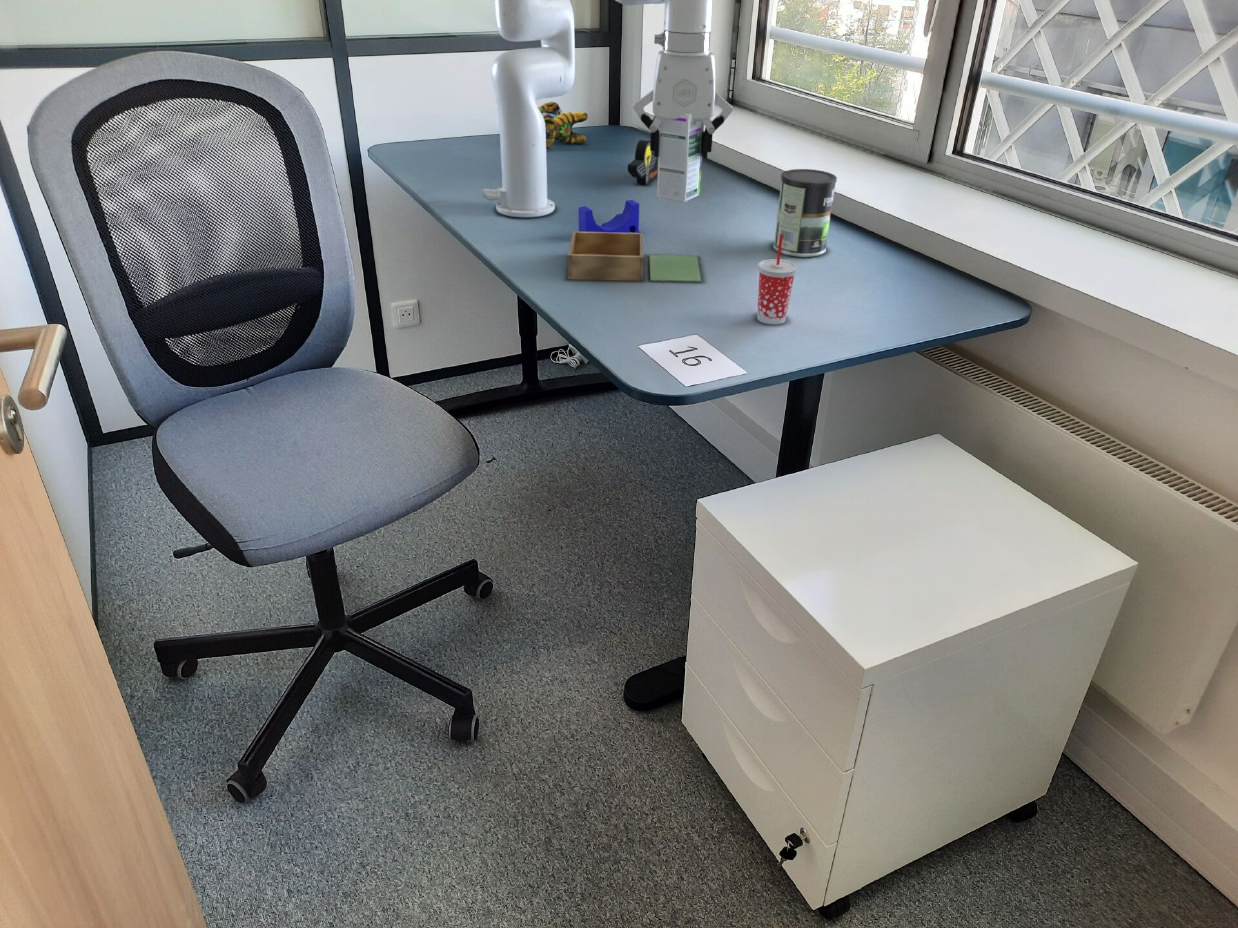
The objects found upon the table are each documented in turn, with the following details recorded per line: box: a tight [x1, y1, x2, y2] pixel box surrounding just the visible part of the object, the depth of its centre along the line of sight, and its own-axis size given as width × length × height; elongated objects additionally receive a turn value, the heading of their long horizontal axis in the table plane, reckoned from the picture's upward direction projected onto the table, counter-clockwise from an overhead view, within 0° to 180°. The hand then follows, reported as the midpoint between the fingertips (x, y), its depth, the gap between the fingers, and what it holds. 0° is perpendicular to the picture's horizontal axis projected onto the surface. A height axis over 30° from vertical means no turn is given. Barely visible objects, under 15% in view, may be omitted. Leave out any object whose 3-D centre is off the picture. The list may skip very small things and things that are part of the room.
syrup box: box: [656, 113, 705, 204], centre depth 151 cm, size 6×6×14 cm
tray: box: [567, 230, 644, 282], centre depth 160 cm, size 13×13×4 cm
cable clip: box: [578, 199, 640, 233], centre depth 176 cm, size 12×4×6 cm, turn 118°
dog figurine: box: [537, 101, 588, 151], centre depth 240 cm, size 20×12×18 cm
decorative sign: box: [627, 139, 658, 186], centre depth 210 cm, size 27×2×10 cm, turn 161°
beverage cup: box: [756, 234, 798, 325], centre depth 139 cm, size 6×6×14 cm
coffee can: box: [773, 168, 838, 258], centre depth 169 cm, size 10×10×14 cm
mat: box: [649, 254, 702, 283], centre depth 162 cm, size 9×13×1 cm
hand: (680, 155), depth 151 cm, fingers closed on syrup box, 7 cm apart
